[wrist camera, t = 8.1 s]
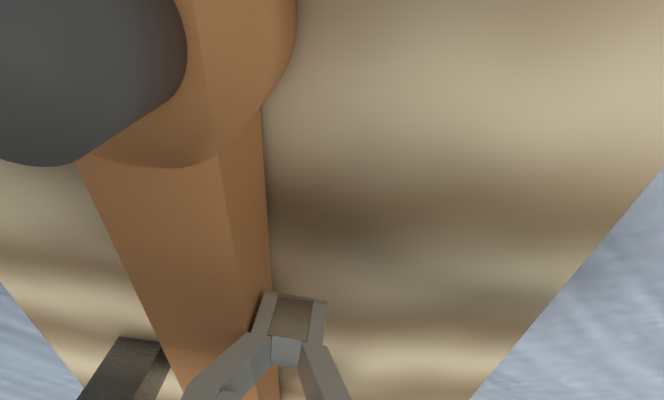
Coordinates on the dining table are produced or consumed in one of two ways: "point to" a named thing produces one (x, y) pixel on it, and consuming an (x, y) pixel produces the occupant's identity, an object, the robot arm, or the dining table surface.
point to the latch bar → (159, 147)
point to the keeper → (129, 372)
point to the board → (397, 187)
